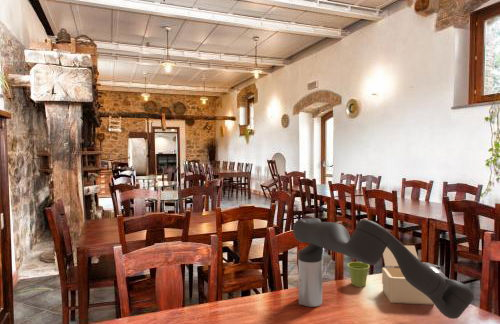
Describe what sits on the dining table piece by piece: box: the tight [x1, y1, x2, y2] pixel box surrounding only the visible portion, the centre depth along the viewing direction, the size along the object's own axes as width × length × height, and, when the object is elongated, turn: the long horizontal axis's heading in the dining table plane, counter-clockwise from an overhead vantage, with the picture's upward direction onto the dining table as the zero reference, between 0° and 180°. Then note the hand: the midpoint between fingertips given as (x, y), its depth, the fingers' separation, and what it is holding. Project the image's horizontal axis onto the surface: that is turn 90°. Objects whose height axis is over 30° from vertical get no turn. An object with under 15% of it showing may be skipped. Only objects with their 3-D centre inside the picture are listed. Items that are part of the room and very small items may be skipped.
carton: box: [381, 266, 435, 306], centre depth 140 cm, size 17×12×10 cm
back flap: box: [382, 244, 419, 268], centre depth 149 cm, size 14×1×10 cm
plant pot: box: [347, 261, 371, 288], centre depth 154 cm, size 9×9×9 cm
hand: (413, 261), depth 133 cm, fingers closed
